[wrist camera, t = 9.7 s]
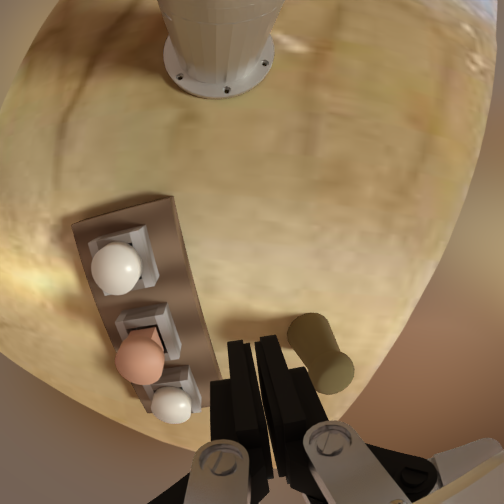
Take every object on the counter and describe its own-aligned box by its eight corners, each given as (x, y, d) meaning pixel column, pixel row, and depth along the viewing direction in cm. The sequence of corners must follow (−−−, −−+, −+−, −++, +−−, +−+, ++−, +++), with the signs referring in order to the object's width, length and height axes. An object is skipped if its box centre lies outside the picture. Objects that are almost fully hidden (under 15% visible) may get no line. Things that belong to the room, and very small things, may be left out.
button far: (151, 374, 34) (145, 399, 30) (186, 369, 35) (183, 395, 30) (163, 400, 36) (159, 425, 31) (196, 396, 36) (195, 421, 31)
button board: (81, 220, 31) (58, 230, 26) (173, 196, 32) (164, 201, 26) (150, 400, 39) (144, 427, 33) (226, 390, 40) (228, 418, 34)
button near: (102, 240, 29) (85, 252, 25) (142, 230, 30) (129, 241, 25) (115, 281, 31) (100, 298, 26) (153, 273, 31) (143, 290, 26)
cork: (280, 345, 39) (300, 399, 28) (298, 307, 38) (326, 355, 27) (318, 354, 40) (345, 404, 29) (336, 318, 39) (372, 364, 28)
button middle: (120, 325, 29) (107, 349, 25) (160, 318, 30) (152, 343, 25) (135, 360, 31) (126, 386, 26) (173, 354, 31) (168, 382, 26)
